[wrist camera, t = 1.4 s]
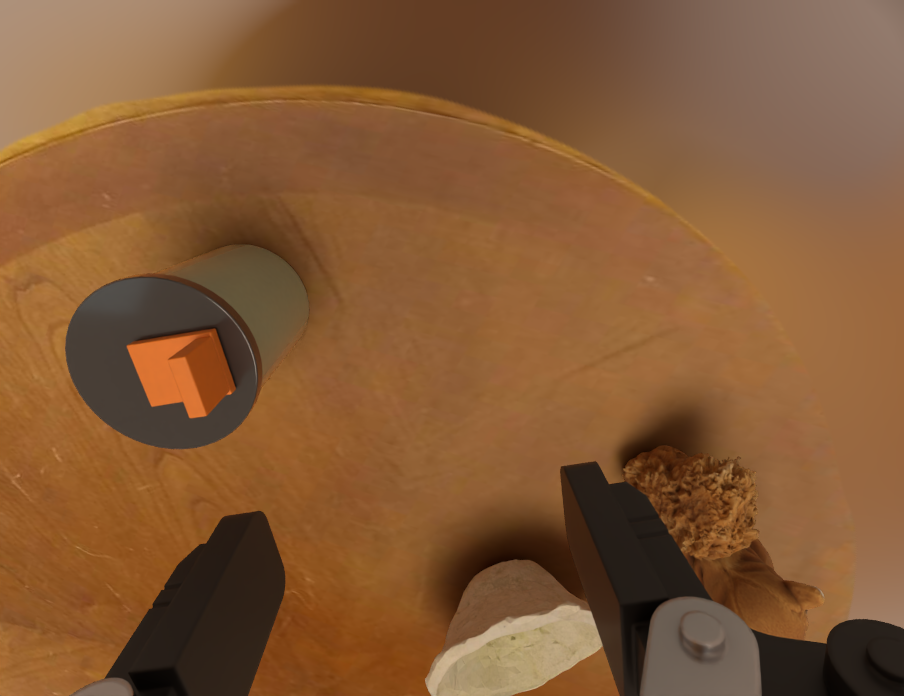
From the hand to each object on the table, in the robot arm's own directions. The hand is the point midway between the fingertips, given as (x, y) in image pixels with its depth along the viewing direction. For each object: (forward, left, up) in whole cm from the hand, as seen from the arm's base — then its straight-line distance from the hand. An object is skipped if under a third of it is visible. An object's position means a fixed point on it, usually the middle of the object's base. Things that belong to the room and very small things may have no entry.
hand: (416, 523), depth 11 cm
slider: (+9, -8, -14) cm, 18 cm away
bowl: (+17, +24, -26) cm, 39 cm away
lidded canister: (+10, -8, -26) cm, 29 cm away
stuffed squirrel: (+1, +27, -26) cm, 37 cm away
